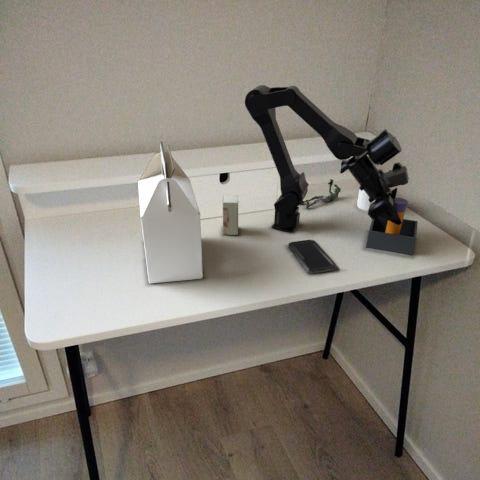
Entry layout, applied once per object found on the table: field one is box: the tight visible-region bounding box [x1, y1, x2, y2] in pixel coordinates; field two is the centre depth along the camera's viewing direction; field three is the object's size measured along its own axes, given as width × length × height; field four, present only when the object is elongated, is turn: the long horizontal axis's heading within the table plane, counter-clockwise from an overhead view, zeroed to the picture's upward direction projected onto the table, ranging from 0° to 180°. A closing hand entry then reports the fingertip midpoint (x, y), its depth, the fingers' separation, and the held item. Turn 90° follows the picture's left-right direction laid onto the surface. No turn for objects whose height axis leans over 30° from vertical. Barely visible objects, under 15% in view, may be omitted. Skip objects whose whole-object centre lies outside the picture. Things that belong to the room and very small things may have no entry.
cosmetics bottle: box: [222, 194, 239, 236], centre depth 132 cm, size 5×4×10 cm
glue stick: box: [385, 197, 409, 235], centre depth 127 cm, size 4×4×12 cm
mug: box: [356, 189, 375, 212], centre depth 145 cm, size 12×8×10 cm
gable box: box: [137, 141, 204, 284], centre depth 114 cm, size 22×13×28 cm, turn 11°
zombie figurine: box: [299, 178, 342, 210], centre depth 151 cm, size 5×7×15 cm
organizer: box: [365, 216, 419, 257], centre depth 129 cm, size 12×11×6 cm
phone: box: [287, 239, 337, 274], centre depth 124 cm, size 8×1×15 cm
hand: (400, 220), depth 126 cm, fingers closed on glue stick, 4 cm apart
